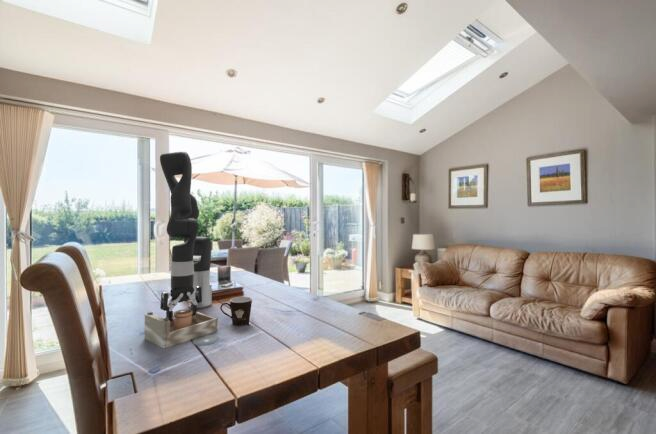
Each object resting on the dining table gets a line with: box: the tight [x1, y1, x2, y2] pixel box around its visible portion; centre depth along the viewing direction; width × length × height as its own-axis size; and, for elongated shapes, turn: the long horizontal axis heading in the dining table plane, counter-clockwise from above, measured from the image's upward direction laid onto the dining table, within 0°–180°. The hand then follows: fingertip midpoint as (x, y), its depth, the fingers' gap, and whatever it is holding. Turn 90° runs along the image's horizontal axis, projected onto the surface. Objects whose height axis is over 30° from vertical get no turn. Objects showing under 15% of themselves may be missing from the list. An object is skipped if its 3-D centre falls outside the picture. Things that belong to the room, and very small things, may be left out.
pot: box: [173, 308, 193, 330], centre depth 113 cm, size 6×6×8 cm
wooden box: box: [144, 311, 219, 349], centre depth 112 cm, size 20×14×10 cm
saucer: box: [192, 334, 220, 346], centre depth 107 cm, size 8×8×1 cm
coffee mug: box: [220, 296, 253, 327], centre depth 125 cm, size 12×9×10 cm
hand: (181, 318), depth 112 cm, fingers open, 8 cm apart
